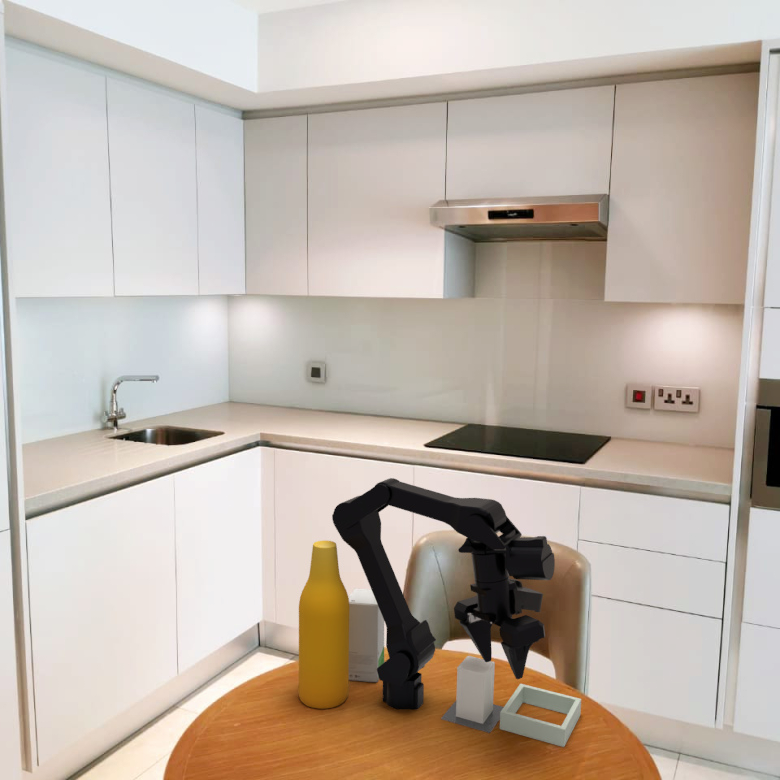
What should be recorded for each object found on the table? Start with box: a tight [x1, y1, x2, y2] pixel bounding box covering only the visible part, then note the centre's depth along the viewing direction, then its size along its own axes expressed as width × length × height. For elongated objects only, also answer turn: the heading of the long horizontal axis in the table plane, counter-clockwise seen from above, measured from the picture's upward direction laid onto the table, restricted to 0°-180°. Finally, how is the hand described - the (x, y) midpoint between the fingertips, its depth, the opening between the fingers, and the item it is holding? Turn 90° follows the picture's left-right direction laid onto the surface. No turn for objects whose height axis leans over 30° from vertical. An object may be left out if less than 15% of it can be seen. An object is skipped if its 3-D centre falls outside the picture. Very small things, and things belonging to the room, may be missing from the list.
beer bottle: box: [297, 540, 350, 710], centre depth 142 cm, size 9×9×29 cm
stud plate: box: [440, 700, 504, 734], centre depth 138 cm, size 9×9×4 cm
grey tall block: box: [455, 655, 496, 724], centre depth 137 cm, size 5×5×9 cm
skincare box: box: [348, 587, 385, 683], centre depth 153 cm, size 8×7×16 cm
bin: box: [499, 683, 582, 748], centre depth 135 cm, size 11×11×4 cm
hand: (503, 669), depth 131 cm, fingers open, 9 cm apart
